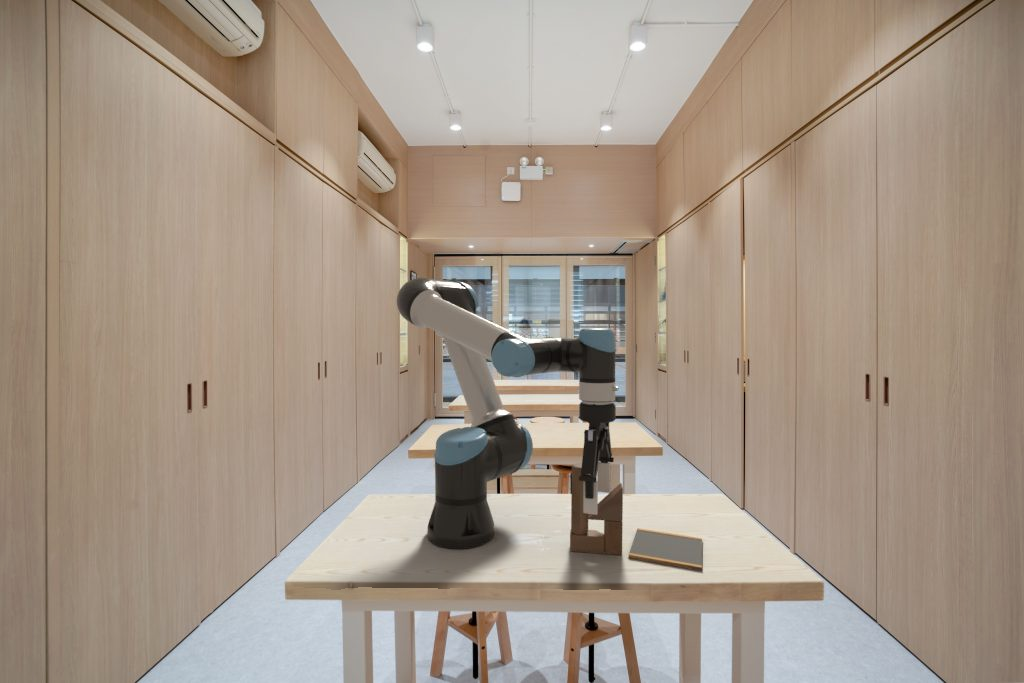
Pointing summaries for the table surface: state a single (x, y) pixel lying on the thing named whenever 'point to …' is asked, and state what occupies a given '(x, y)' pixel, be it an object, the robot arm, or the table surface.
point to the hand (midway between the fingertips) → (597, 502)
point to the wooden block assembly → (607, 511)
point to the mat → (667, 549)
